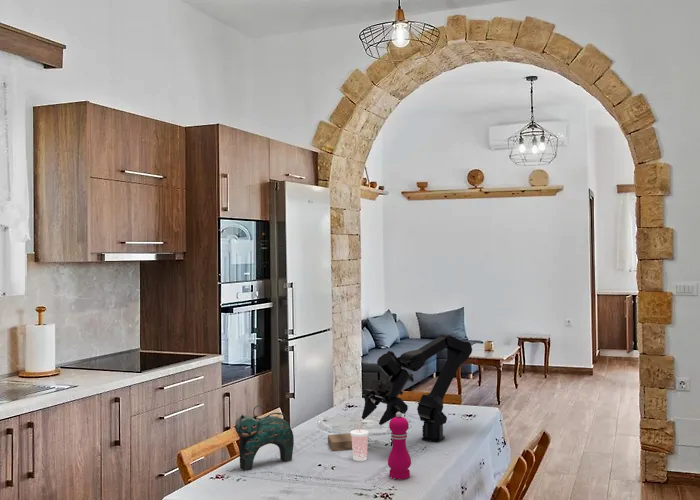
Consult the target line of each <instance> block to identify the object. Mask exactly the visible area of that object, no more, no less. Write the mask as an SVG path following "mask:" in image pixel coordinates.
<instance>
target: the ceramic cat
mask: <svg viewBox="0 0 700 500" xmlns="http://www.w3.org/2000/svg"><path fill="white" fill-rule="evenodd" d="M258 407H261V408H263V409H265V406H264V405H261V404H258V405H256V406H254V408H253V414H252V415H253V416H250V415H243V414H241V416H239V417H238V418H237V420H236V421H235V426H234V428H235V433H237V434H238V436H240V439H239V450H238V451H239V468H240V469H241V470H242V471H244V472H246V471H245V470H247V471H250V470H251V471H252V470H253V465H254V460H255V458H256V455H257V453H258V451H259V450H260V448H262V447H264V446H266V445H270V444H271V445H275V446H277V448H278V449H279V450H278V451H279V459H280V461H282V462H284V463H286V462H290V461H293V454H294V453H293V451H294V444H295V443H294V442H295V440H294V438H295V437H294V433H293V430H292V428H291V426H290V424H289V423H290V422H289V419H288V417H287V416H286V415H285V414H284V413H282V412H272V413H270V414H268V415H266V416H263V417H258V415H255V410H256V409H257V408H258ZM275 415H277V416H275ZM278 415H282V416H283V417H285V418H286V420H285V419H284V418H282V417H279V416H278Z"/></svg>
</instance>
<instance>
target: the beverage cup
mask: <svg viewBox="0 0 700 500" xmlns="http://www.w3.org/2000/svg"><path fill="white" fill-rule="evenodd" d="M369 432H370V431H368V430H367V429H361V417H360V416H358V429H353V430H351V431H350V433H351V436H352V449H353V450H352V458H353V461H357V462H363V461H366V460H367V459H368V445H369V444H368V443H369V442H368V440H369V434H370V433H369Z"/></svg>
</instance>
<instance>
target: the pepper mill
mask: <svg viewBox="0 0 700 500" xmlns="http://www.w3.org/2000/svg"><path fill="white" fill-rule="evenodd" d="M402 415H403V413H402V414H401V413H400V412H397V413H396V417H394V418H392V419H391V420H389V422H388V423H389V424H388V428H389V430H390V431H391V432H390V438H391V440H392V447H391V449H390V453H389V455H388V458H387V465H388V467H389V468H390V469H389V470H388V471H389V477H390V478H391V477H392V478H391V479H393V478H395V479H394V480H398V479H402V480H406V478H407V479H408V478H410V476H411V474H410V473H411V470H410V469H409V468H410V467H411V465H412V458H411V456H410V454H409V451H408V449H407V442H406V439H408V436H407V435H408V432H407V431H408V430H409V428H410V427H409V425H410V424H409V421H408V420H407V418H405V417H403V416H402Z"/></svg>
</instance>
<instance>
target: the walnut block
mask: <svg viewBox="0 0 700 500" xmlns="http://www.w3.org/2000/svg"><path fill="white" fill-rule="evenodd" d="M327 445H328V446H329V448H330V449H331V452H338V451H350V450H352V451H353V449H352V436H351V432H350V433H341V434H340V433H339V434H338V433H337V434H328V435H327Z"/></svg>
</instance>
